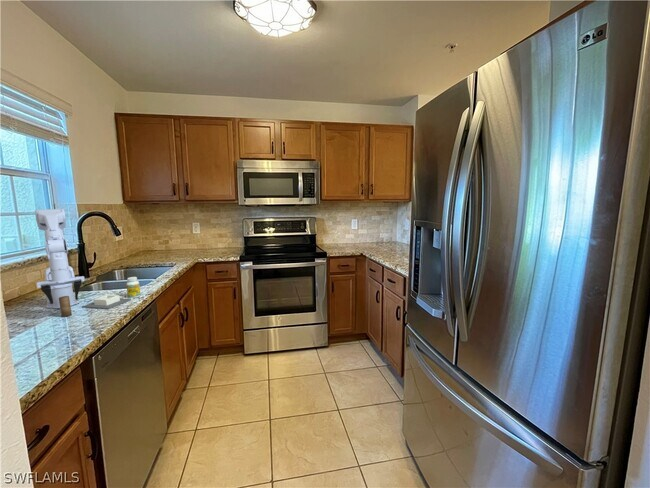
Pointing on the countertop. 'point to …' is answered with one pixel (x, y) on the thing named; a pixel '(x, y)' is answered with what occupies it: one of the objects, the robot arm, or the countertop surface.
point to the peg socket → (106, 302)
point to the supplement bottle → (133, 287)
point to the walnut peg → (65, 306)
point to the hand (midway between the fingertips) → (64, 301)
